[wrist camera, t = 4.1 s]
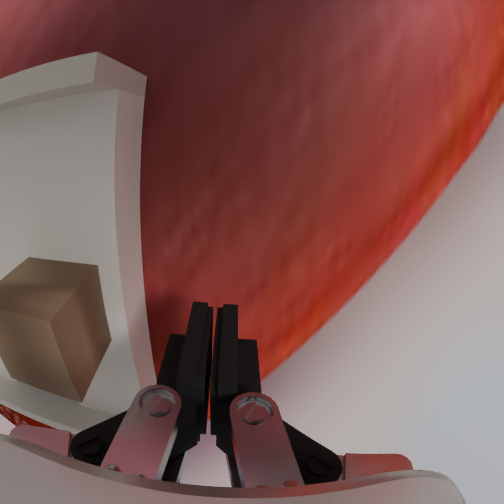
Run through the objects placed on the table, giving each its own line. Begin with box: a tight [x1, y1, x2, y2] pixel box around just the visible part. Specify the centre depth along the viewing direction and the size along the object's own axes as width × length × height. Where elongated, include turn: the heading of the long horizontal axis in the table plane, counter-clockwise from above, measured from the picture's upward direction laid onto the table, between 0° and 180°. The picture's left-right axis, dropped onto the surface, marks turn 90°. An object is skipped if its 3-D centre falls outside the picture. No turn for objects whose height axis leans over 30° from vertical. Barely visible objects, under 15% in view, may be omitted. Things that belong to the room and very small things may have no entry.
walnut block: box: [0, 257, 112, 403], centre depth 9 cm, size 4×4×4 cm
